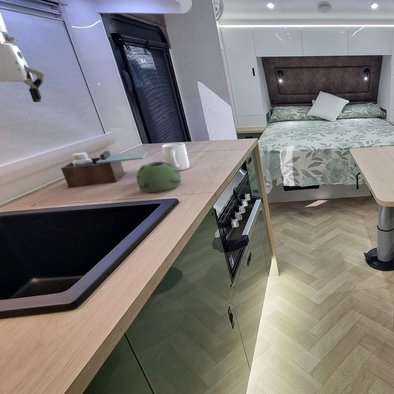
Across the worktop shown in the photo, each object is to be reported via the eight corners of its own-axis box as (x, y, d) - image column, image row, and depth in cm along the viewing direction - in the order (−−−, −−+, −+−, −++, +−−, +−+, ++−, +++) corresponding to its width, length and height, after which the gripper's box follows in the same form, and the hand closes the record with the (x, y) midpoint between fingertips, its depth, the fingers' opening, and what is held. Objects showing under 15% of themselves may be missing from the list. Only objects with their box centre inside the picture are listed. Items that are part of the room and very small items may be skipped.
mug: (188, 172, 119) (182, 147, 115) (164, 174, 116) (158, 149, 112) (190, 165, 129) (185, 142, 125) (169, 167, 126) (163, 143, 122)
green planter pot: (184, 189, 100) (178, 165, 97) (139, 197, 94) (131, 171, 90) (179, 177, 113) (174, 155, 109) (140, 183, 106) (133, 160, 103)
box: (68, 187, 103) (60, 168, 100) (81, 177, 114) (74, 159, 111) (116, 181, 108) (110, 163, 106) (124, 172, 119) (118, 155, 116)
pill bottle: (101, 177, 111) (92, 152, 107) (86, 181, 106) (76, 155, 103) (91, 176, 113) (82, 151, 109) (75, 180, 108) (65, 155, 104)
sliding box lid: (96, 163, 104) (94, 157, 103) (106, 155, 115) (104, 150, 114) (142, 159, 109) (140, 152, 109) (148, 152, 120) (146, 146, 119)
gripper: (38, 42, 89) (58, 101, 95) (-44, 38, 82) (-17, 102, 88) (26, 39, 83) (48, 102, 89) (-64, 35, 76) (-33, 103, 82)
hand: (16, 102), depth 89 cm, fingers open, 9 cm apart
